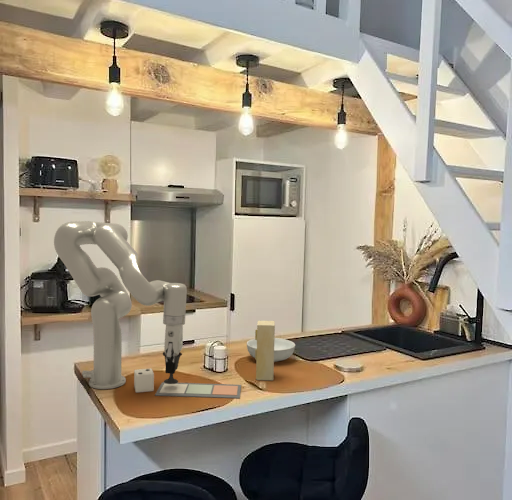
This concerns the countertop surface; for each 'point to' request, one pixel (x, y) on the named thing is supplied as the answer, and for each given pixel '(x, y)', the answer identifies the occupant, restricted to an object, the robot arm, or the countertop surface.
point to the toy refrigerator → (265, 350)
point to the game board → (199, 390)
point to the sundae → (171, 379)
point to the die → (143, 380)
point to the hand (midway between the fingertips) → (171, 369)
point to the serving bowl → (275, 348)
